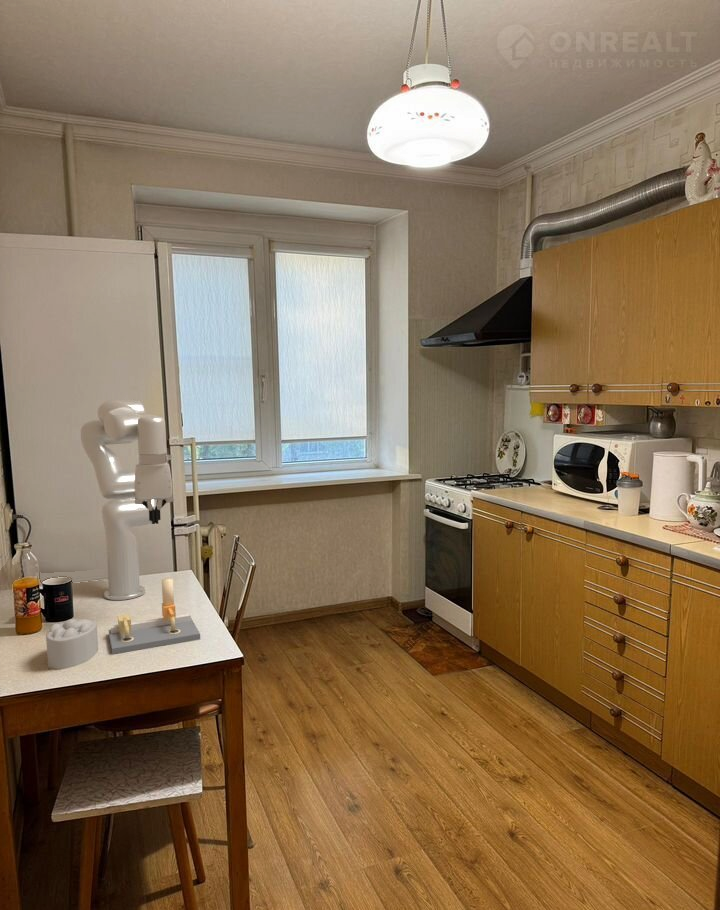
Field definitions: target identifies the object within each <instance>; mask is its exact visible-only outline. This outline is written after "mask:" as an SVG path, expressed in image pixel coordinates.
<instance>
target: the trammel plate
mask: <svg viewBox="0 0 720 910" xmlns="http://www.w3.org/2000/svg"><path fill="white" fill-rule="evenodd" d="M108 637H109V643H110V649H111V653H112V655H116V654H122V653H123V654H124V653H128V652H135V651H140V650H145V649H151V648H156V647H157V648H159V647H163V646H169V645H174V644H180V643H185V642H191V641H197V640H201V633H200V631H199V629H198V627H197V626H196V623H195V622H194V620H193V619H192V617H191V614H190V613H187V614H180V615H179V614H178V615H176V619H175V631H171V619H170V620H164V618H163V617H160V618H159V617H158V618H154V619H153V618H152V619H147V620H142V621H135V622H134V621H133V622H132V619H131V616H130V614H129V613H128V614H123V615H117V624H116V625H110V629H108Z"/></svg>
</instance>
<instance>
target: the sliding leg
mask: <svg viewBox="0 0 720 910" xmlns="http://www.w3.org/2000/svg"><path fill="white" fill-rule="evenodd" d="M161 590H162V591H161V592H162V594H161V595H162V596H161V597H162V602H161V614H162V618H164V620H170V619H171V631H175V619H176V616H177V615H176V612H177V611H176V604H175V593H174V579H173V578H172V577H171V578H170V577H168V578H164V579H162V580H161Z"/></svg>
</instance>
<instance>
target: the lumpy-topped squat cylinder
mask: <svg viewBox="0 0 720 910" xmlns="http://www.w3.org/2000/svg"><path fill="white" fill-rule="evenodd" d="M98 636H99V635H98V624H97V622H95V620H93V621H91V620H89V619H85V618H83V619H76V618H75V619H74V618H73V619H72V618H71V619H67V620H66V621H64V622H61V623H54V624H52V625H51V626H50V628H49V631H48V632H47V633H46V636H45V637H46V640H45V641H46V654H47V655H46V656H47V666H48V667H49V668H51V669H53V670H65V669H70V668H74V667H78V666H80V665H82V664H84V663H87V662H89V661H90V660H91V659H92V658H94V657H95V656H96V654H97V653H98V652H99V638H98Z"/></svg>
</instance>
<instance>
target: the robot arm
mask: <svg viewBox="0 0 720 910" xmlns="http://www.w3.org/2000/svg"><path fill="white" fill-rule="evenodd" d="M97 417H98V419H95V420H94V419H93V420H90V421H87V422H85V423H84V424H83V425H82V426H81V428H80V440H81V445H82V447H83V450H84V452H85V454H86V455H87V457H88V459H89V460H90V462H91V463H92V466H93V470H94V474H95V477H96V480H97V484H98V488H99V492H100V493H101V495H102V498H104V499H107V500H109V501H107V502H106V503H104V505H102V508H101V517H102V521H103V527H104V531H105V541H106V542H105V543H106V556H107V557H106V558H107V559H106V560H107V561H106V562H107V577H108V578H107V580H108V589H107V590H105V591H104V592H103V597H104V598H105V599H106V600H107V599H108V600H112V601H124V600H131V599H132V600H133V599H135V598H138V597H141V596H142V595H144V594H145V593H146V588H145V587H144V586H143V585H140V584H141V583H140V581H141V580H140V564H139V562H140V561H139V560H140V559H139V542H138V539H137V537H136V535H135V534H134V533H133V532H132V531H131V530H130V529H131V528H134V527H141V526H142V527H143V526H147V525H155V524H157V525H159V521H161V510H162V508H163V507H164V506H165V505H166V504H169V503H173V502H174V501H175V499H174V495H173V493H174V491H173V481H172V474H171V473H172V472H171V467H170V463H167V462H169V460H173V459H172V457H173V456H172V454H168V453H167V439H166V421H165V419H164V417H162V416H159V415H155V414H149V413H148V414H147V411H146V407H145V405H144V404H143V403H142V402H141V401H140V400H138V399H137V400H136V399H114V400H113V399H111V400H107V401H104V402H102V403H101V404H100V405H99V406H98V409H97ZM136 441H137V447H138V449H137V450H138V464H136V465H135V468H128V469H124V468H123V465H122V462H121V459H120V457H119V456H118V455H117V454H116V453H115V452H114V451H113V450H111V449H110V448H109V447H107V445H124V444H132V443H134V442H136Z"/></svg>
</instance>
